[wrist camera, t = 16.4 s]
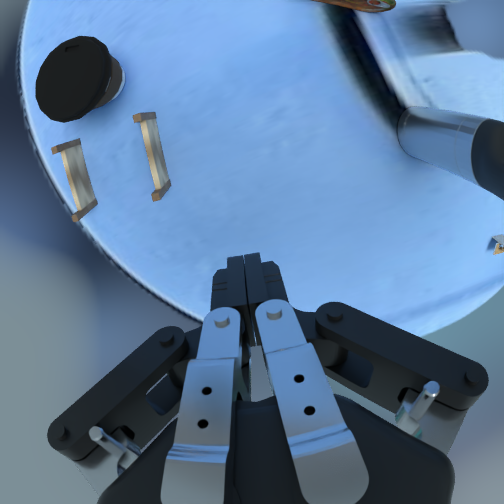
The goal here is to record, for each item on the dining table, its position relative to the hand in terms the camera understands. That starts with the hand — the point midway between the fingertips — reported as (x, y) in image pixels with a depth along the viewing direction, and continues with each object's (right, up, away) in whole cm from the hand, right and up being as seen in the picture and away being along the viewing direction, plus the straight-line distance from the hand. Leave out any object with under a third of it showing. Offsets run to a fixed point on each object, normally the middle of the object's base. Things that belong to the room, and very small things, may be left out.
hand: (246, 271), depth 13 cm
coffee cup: (-21, +26, +17) cm, 38 cm away
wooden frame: (-20, +15, +23) cm, 34 cm away
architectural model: (+64, +5, +37) cm, 74 cm away
